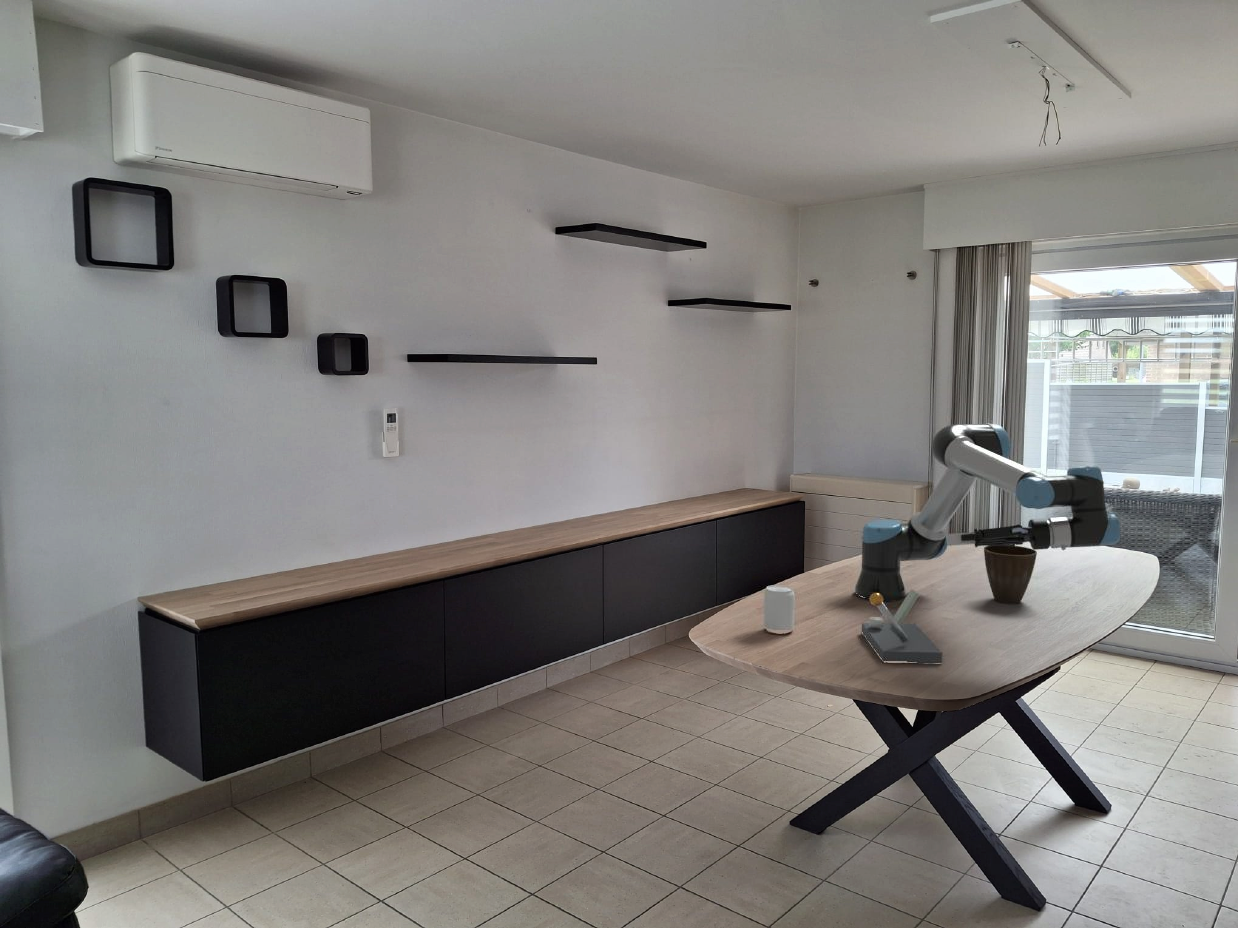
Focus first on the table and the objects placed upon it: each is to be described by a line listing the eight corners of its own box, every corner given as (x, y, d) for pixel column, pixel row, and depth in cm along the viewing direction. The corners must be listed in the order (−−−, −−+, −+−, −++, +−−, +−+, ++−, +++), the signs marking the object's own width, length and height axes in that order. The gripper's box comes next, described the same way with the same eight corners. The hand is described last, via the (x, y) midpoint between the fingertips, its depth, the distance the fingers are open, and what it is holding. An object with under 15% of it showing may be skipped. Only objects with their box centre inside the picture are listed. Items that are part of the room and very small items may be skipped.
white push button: (867, 623, 233) (867, 616, 233) (880, 623, 233) (881, 616, 232) (870, 627, 229) (870, 620, 229) (884, 627, 229) (884, 620, 229)
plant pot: (1040, 608, 261) (1042, 555, 259) (986, 605, 264) (989, 553, 262) (1027, 595, 275) (1029, 545, 274) (977, 593, 278) (979, 543, 277)
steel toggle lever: (897, 641, 219) (865, 596, 218) (908, 634, 218) (876, 588, 217) (901, 645, 215) (868, 599, 215) (912, 638, 215) (879, 592, 214)
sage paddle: (891, 620, 233) (911, 588, 232) (894, 622, 233) (914, 590, 232) (895, 625, 228) (916, 592, 227) (898, 627, 228) (919, 594, 227)
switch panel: (861, 633, 237) (861, 622, 236) (914, 634, 236) (914, 623, 235) (883, 663, 213) (883, 651, 212) (941, 664, 212) (942, 652, 212)
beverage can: (789, 626, 243) (790, 584, 241) (796, 635, 235) (797, 591, 233) (761, 626, 242) (761, 584, 241) (766, 635, 234) (767, 592, 233)
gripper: (1055, 542, 208) (950, 548, 214) (1045, 554, 220) (946, 559, 226) (1050, 511, 211) (947, 519, 216) (1041, 525, 222) (943, 531, 228)
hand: (946, 539), depth 221 cm, fingers closed
